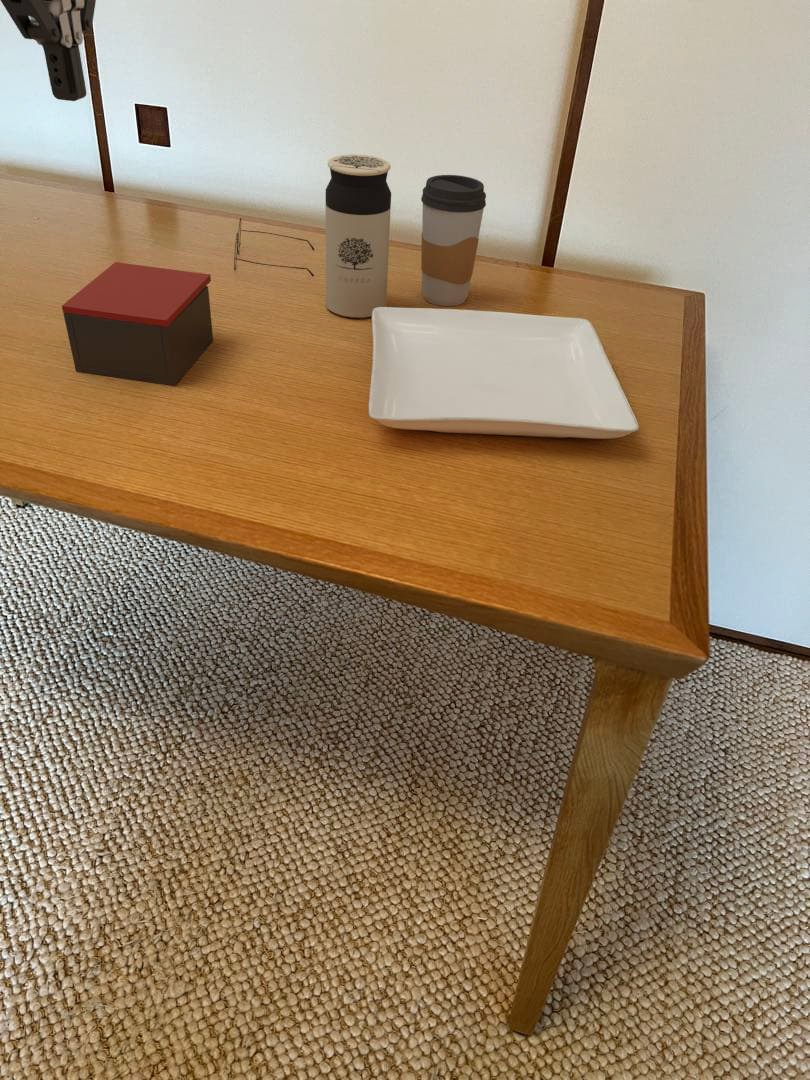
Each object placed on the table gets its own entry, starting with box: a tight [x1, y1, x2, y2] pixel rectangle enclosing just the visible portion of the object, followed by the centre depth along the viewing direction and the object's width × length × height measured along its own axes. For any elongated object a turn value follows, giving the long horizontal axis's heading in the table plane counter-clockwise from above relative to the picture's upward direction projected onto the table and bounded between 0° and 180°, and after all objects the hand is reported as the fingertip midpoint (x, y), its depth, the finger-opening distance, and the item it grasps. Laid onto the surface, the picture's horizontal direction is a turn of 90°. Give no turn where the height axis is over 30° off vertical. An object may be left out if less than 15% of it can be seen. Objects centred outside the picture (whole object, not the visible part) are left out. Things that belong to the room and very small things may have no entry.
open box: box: [63, 285, 214, 387], centre depth 92 cm, size 12×12×7 cm
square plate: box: [368, 306, 640, 440], centre depth 91 cm, size 27×27×4 cm
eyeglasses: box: [233, 217, 315, 277], centre depth 117 cm, size 11×13×5 cm
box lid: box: [61, 261, 212, 327], centre depth 90 cm, size 13×12×1 cm
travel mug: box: [325, 154, 392, 319], centre depth 102 cm, size 8×8×18 cm
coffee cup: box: [420, 174, 487, 307], centre depth 107 cm, size 8×8×15 cm
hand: (70, 98), depth 66 cm, fingers closed
